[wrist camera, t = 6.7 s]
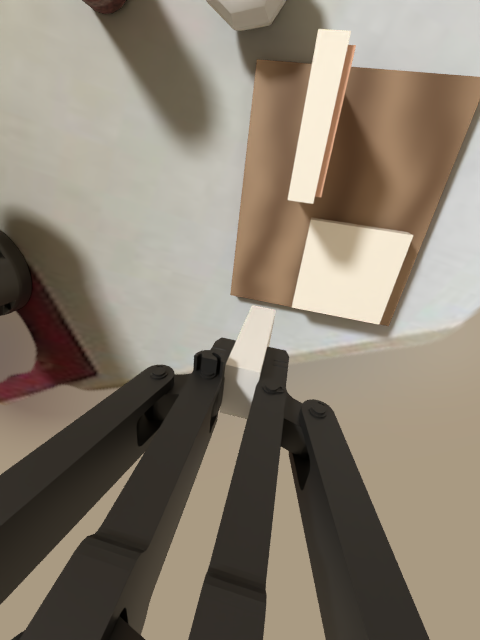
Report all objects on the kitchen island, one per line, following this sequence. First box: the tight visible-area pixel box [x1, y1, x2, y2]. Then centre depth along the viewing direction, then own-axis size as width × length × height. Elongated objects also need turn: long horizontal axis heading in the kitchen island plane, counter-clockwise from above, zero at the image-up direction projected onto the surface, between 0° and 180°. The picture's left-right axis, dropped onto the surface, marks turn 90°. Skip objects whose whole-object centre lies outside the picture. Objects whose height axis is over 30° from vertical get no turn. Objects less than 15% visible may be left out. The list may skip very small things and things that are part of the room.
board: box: [230, 59, 480, 326], centre depth 32 cm, size 20×24×2 cm
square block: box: [292, 217, 413, 324], centre depth 33 cm, size 2×10×10 cm
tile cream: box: [288, 29, 356, 204], centre depth 25 cm, size 2×10×10 cm, turn 173°
